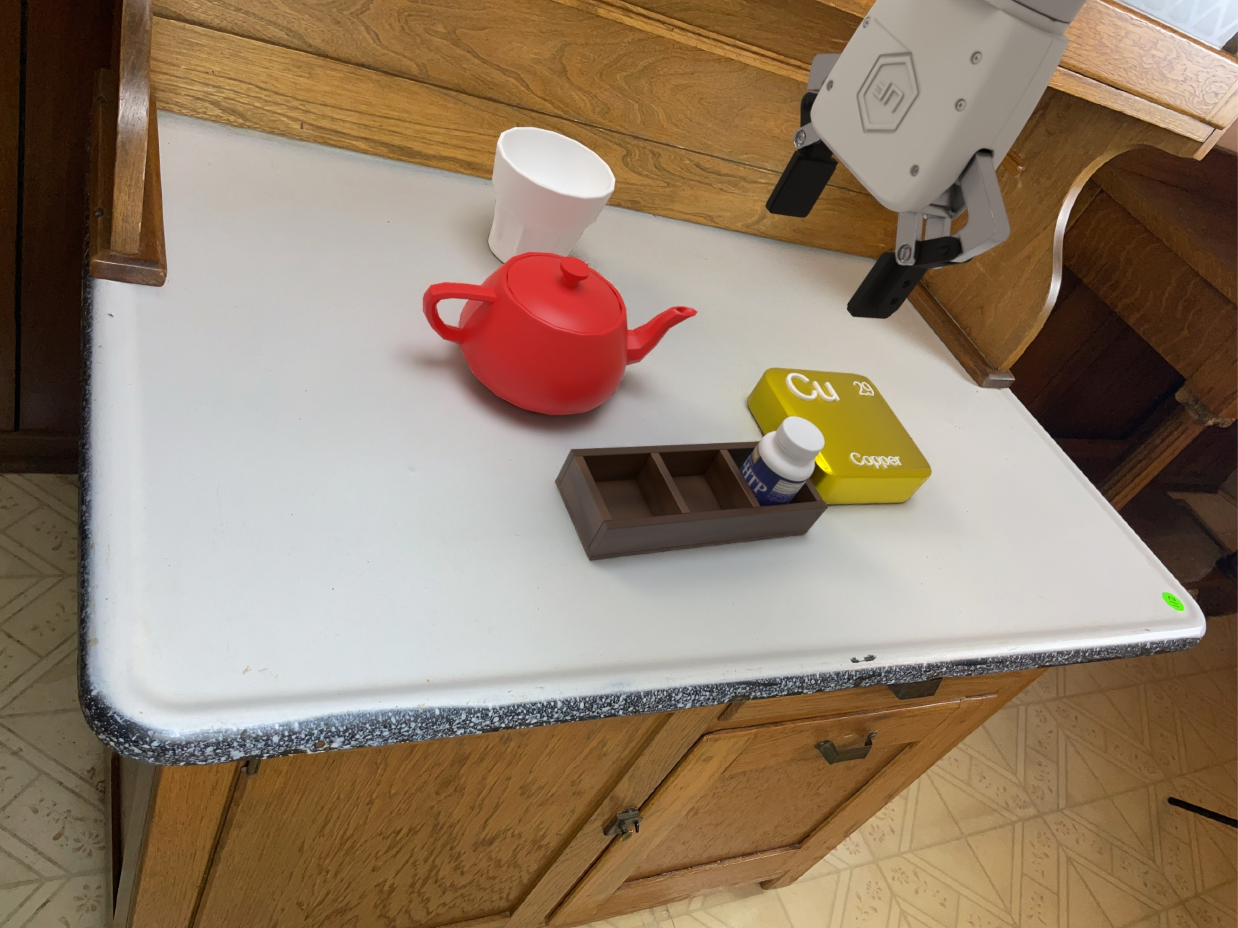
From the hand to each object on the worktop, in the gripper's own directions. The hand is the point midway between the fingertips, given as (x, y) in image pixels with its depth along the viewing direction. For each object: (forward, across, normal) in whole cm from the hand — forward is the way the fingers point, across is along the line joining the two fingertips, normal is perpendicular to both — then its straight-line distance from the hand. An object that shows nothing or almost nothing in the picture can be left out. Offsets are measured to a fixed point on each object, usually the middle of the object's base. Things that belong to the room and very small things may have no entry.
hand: (823, 261), depth 51 cm
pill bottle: (+28, -3, +13) cm, 31 cm away
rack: (+28, -3, +6) cm, 29 cm away
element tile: (+28, -9, +27) cm, 40 cm away
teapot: (+28, -20, -2) cm, 35 cm away
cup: (+28, -39, +3) cm, 48 cm away
